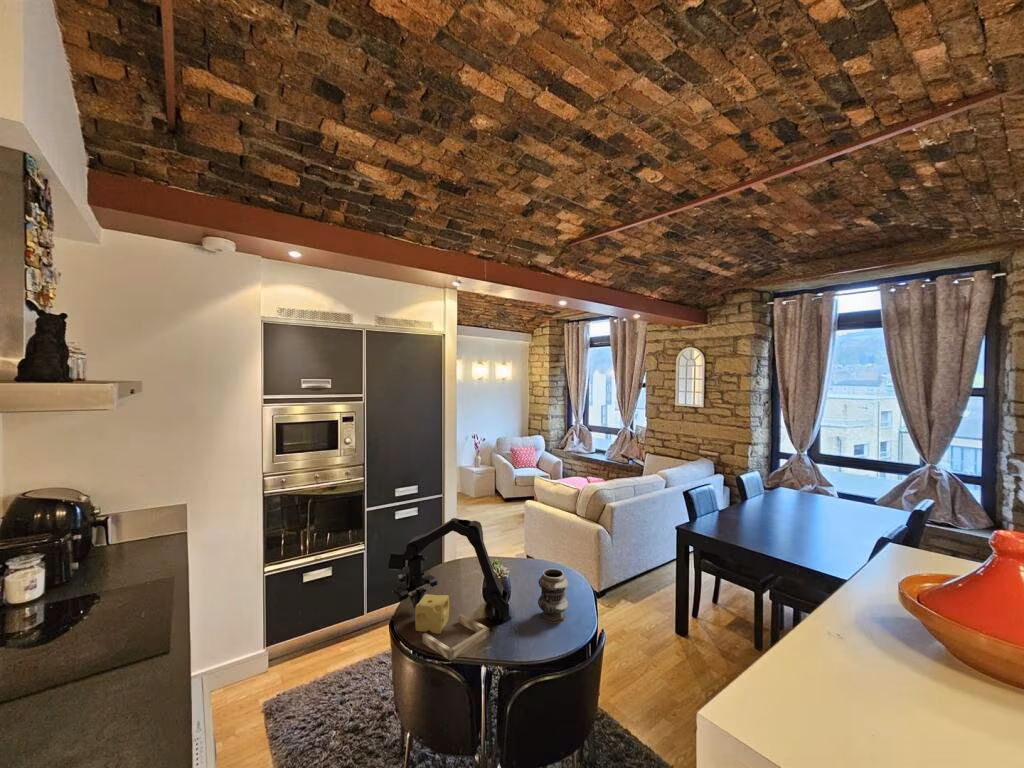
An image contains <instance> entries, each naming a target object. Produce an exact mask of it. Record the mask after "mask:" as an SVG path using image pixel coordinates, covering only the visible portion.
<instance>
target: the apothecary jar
mask: <svg viewBox="0 0 1024 768" xmlns="http://www.w3.org/2000/svg"><path fill="white" fill-rule="evenodd" d="M568 585H569V582H568V579H567V578H566V576H565V574H564V572H563V570H561V569H558V568H552V567H551V568H547V569H544V570H543V571H542V575H541V576H540V577H539V579H538V586H539V587H540V588H541V595H540V596H539V598H538V600H537V604H538V608H540V610H541V611H542V612H541V614H540V618H541V620H543V622H545V623H549V624H560V623H561V622H562V621H563V622H564V621H565V619H566V615H565V614H564V612H565V611H566V610H567V609H568V607H569V602H568V599H567V597H566V596H565V595H566V589H567V587H568Z"/></svg>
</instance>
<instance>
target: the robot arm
mask: <svg viewBox="0 0 1024 768" xmlns="http://www.w3.org/2000/svg"><path fill="white" fill-rule="evenodd" d="M451 532H454V533H456V534H458V535H461V536H463V537H466V539H467V540H468V542H469V544H470V545H471V546H472V547H473V549H474V552H475V555H476V557H477V560H478V563H479V566H480V569H481V571H482V574H483V578H484V583H483V588H482V590H483V591H484V594H485V598H486V599H487V600H488V601H489V602H490V603H491V616H489V620H491V621H493V622H495V623H497V624H499V625H503V624H504V623H506V622H508V621H509V620H511V619H512V616H511V615H509V614H510V604H509V603H508V599H509V592H508V591H506V589H505V588H504V586H503V584H502V582H501V580H500V578H499V577H498V576H497V575H496V574H495V571H494V568H493V564H492V562H491V559H490V556H489V553H488V551H487V547H486V545H485V541H484V533H483V526H482V524H481V522H480V521H477V520H469V519H460V518H456V517H453V518H450V520H448V521H447V522H444V523H443V524H442V525H440V526H438V527H436V528H434V529H433V530H431V531H429V532H428V533H424V534H420V535H417V536H413V538H412V539H411V540H410V541H409V542H408V543H407V545H406V548H405V550H404V552H398V551H397V552H396V551H392V552H391V553H390V557H389V560H388V564H387V565H388V570H389V571H404V570H405V569H406V568H407V571H406V572H405V573H404V574H402V573H400V574H397V575H396V576H395V582H396V584H400V585H404V586H407V587H406V588H404V587H402V586H399V587H397V588H394V589H393V590H392V592H391V597H392V598H394V599H395V600H397V601H399V602H402V601H405V600H406V599H408V598H409V599H410V601H411V604H412V607H413V609H415V608H416V605H417V604H418V603H419V602H420V600H421V599H422V598H423V596H424V595H425V594H426V592H427V589H426V588H425V586H427V585H429V586H430V587H432V588H433V587H435V586H437V585H438V579H437V577H435V576H433V575H431V574H428V575H426V576H425V572H424V571H423V562H424V561H426V560H427V558H428V555H427V554H426V553H424V552H423V551H424V550H425V549H426V548H427V547H428V546H429V545H430V544H432V543H434V542H436V541H437V540H439V539H441V538H443V537H444V536H446V535H448V534H450V533H451ZM421 552H422V553H421Z"/></svg>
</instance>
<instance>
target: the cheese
mask: <svg viewBox="0 0 1024 768" xmlns="http://www.w3.org/2000/svg"><path fill="white" fill-rule="evenodd" d="M414 609H415V610H414V611H415V613H414V614H415V618H414V619H415V620H414V622H415V623H414V624H415V626H414V627H415V631H417V632H424V633H427V632H429V631H430V632H431V633H433V634H439V635H440V634H441V633H442V631H443V629H444V628H445V625H446V624H447V622H448V621H449V615H450V597H449V594H447V595H446V594H445V595H444V594H441V595H440V594H439V595H438V594H428V593H424V595H423V597H422V599H421V600H420V602H419V603H418V604H417V605H416V608H414Z"/></svg>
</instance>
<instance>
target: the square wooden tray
mask: <svg viewBox="0 0 1024 768" xmlns="http://www.w3.org/2000/svg"><path fill="white" fill-rule="evenodd" d="M458 623H459V624H460V625H462V626H464V627H465V628H467V629H470V631H472V632H475V633H473V634H472V635H470V636H469V637H467V638H466V639H464V640H462V641H461V642H459V643H457V644H455V645H454V646H452V647H450V646H448V645H447V644H444V643H443V642H441V641H440V640H438V639H436V638H435V637H434V636H432V635H430V634H428V633H427V632H424V633H423V634H422V644H423V645H424V646H426V647H428V648H430V649H432V650H433V651H434V652H435V653H438V654H439V655H441V656H442V657H444V658H446V659H447V660H449V661H452V660H454V659H456V658H457V657H459V656H460V655H462V654H463V653H465V652H466V651H468V650H471V649H472V648H473V647H475V646H476V645H478V644H480V643H481V642H483V641H484V640H486V639H487V638H489V637H490V628H489V627H487V626H486V625H484V624H482V623H481V622H478V621H476V620H475V619H472V617H471V618H470V617H469V616H466V615H465V614H463V613H460V614H458Z"/></svg>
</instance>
